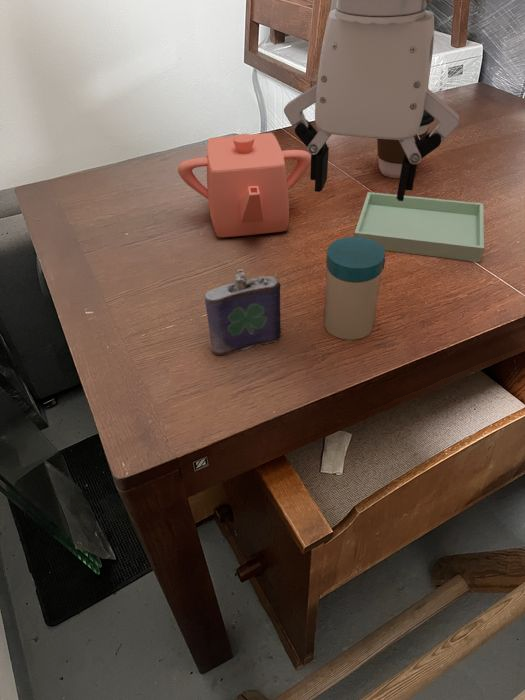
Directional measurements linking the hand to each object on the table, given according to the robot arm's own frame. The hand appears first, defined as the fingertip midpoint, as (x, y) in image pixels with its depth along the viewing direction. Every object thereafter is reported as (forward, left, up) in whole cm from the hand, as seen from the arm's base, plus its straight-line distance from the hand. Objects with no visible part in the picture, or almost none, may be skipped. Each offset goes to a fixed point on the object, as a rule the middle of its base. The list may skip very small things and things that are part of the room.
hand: (360, 190), depth 54 cm
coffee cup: (-1, -48, -19) cm, 51 cm away
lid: (0, 0, -8) cm, 8 cm away
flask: (+12, +7, -19) cm, 23 cm away
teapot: (+21, -22, -19) cm, 36 cm away
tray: (-7, -26, -19) cm, 33 cm away
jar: (0, 0, -19) cm, 19 cm away
